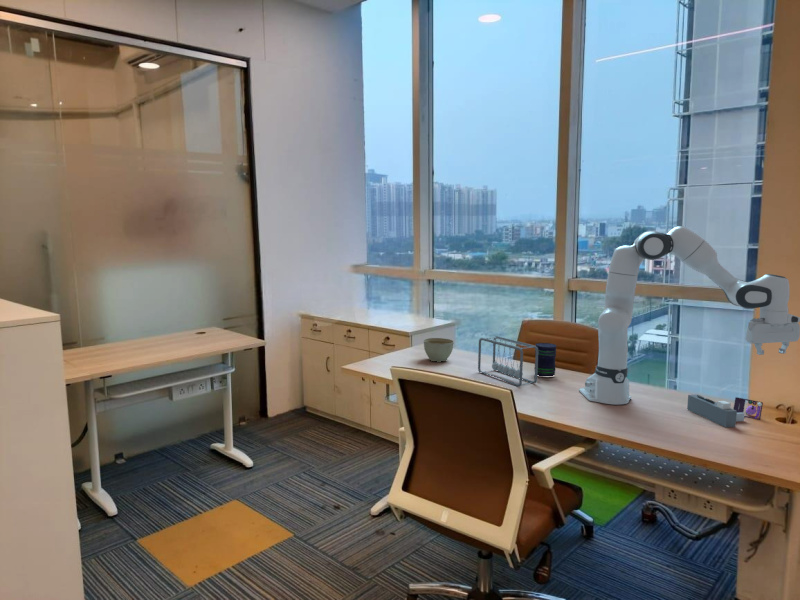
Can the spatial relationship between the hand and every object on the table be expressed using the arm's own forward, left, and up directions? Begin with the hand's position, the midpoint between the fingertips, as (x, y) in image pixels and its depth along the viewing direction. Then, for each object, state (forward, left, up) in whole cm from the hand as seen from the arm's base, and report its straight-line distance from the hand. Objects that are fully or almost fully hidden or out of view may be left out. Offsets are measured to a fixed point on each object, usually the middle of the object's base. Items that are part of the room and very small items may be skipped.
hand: (771, 353), depth 206 cm
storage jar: (-68, -58, -24) cm, 93 cm away
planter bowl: (-104, -102, -25) cm, 148 cm away
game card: (-1, -6, -25) cm, 25 cm away
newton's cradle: (-65, -79, -25) cm, 105 cm away
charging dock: (-1, -19, -24) cm, 31 cm away
